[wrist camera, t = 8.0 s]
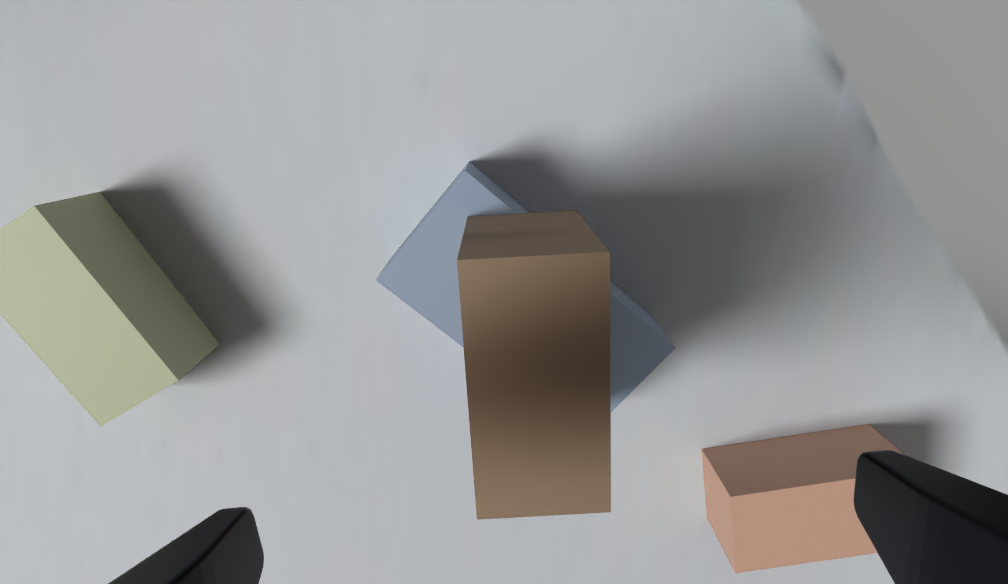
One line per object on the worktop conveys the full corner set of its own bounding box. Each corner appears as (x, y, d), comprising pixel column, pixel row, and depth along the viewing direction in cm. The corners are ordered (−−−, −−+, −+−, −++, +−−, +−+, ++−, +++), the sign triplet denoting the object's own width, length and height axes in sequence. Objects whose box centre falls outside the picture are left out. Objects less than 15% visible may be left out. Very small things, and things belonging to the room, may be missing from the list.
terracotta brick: (865, 421, 22) (921, 468, 19) (864, 491, 23) (917, 547, 20) (700, 446, 22) (730, 496, 19) (705, 514, 23) (735, 573, 20)
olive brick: (222, 342, 21) (178, 380, 18) (154, 383, 21) (100, 426, 18) (103, 191, 19) (34, 205, 16) (32, 238, 20) (-48, 260, 17)
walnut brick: (580, 406, 18) (610, 512, 14) (481, 411, 18) (477, 519, 14) (576, 210, 17) (610, 251, 12) (467, 216, 17) (456, 260, 12)
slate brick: (650, 314, 21) (675, 347, 18) (572, 395, 22) (584, 439, 19) (469, 160, 19) (464, 170, 16) (393, 254, 20) (375, 279, 17)
